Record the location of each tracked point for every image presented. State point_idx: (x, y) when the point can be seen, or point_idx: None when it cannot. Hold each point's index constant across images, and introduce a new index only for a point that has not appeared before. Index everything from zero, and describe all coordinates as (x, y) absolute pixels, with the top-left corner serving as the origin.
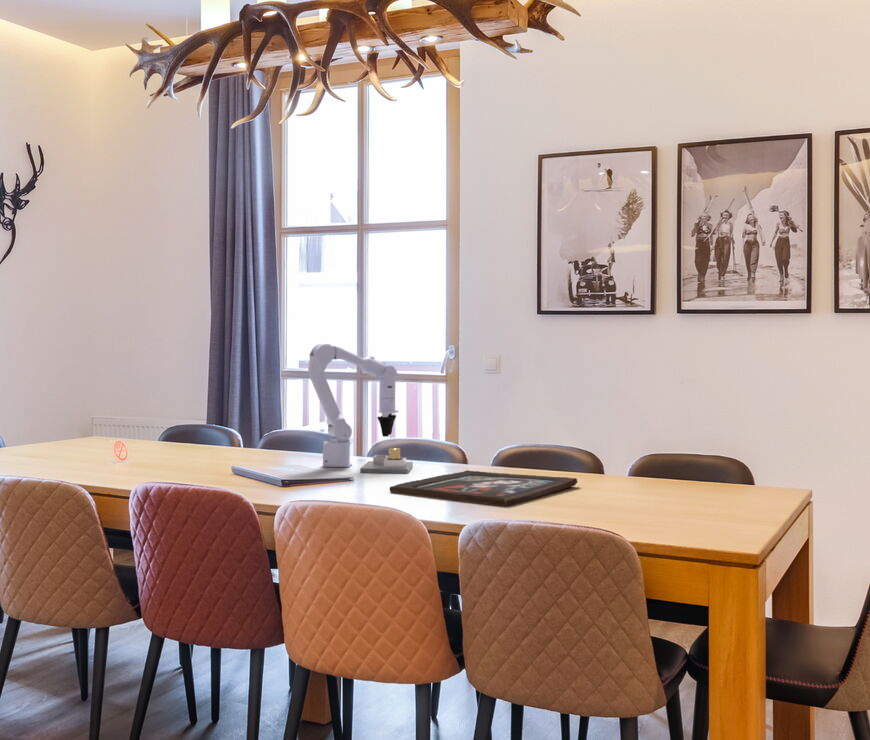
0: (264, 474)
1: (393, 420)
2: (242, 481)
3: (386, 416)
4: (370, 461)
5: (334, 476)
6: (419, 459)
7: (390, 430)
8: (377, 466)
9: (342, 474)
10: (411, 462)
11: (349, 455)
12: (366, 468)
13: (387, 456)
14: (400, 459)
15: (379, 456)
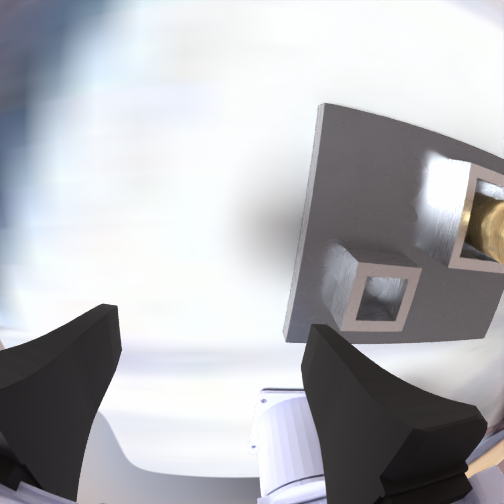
0: None
1: (40, 377)
2: (473, 469)
3: (492, 475)
4: (298, 333)
5: (499, 374)
6: (28, 88)
7: (102, 331)
8: (465, 287)
9: (481, 367)
10: (351, 113)
11: (314, 424)
12: (492, 318)
13: (375, 262)
14: (470, 192)
15: (357, 305)
